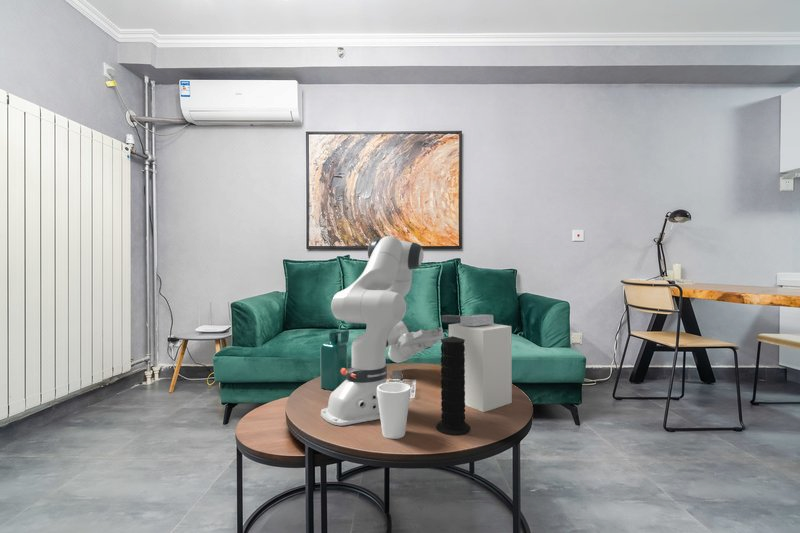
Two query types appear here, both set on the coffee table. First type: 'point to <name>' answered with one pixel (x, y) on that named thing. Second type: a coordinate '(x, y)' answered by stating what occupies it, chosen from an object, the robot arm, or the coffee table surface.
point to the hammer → (469, 319)
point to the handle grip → (453, 387)
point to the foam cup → (393, 408)
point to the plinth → (486, 364)
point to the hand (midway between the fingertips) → (432, 330)
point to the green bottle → (333, 359)
